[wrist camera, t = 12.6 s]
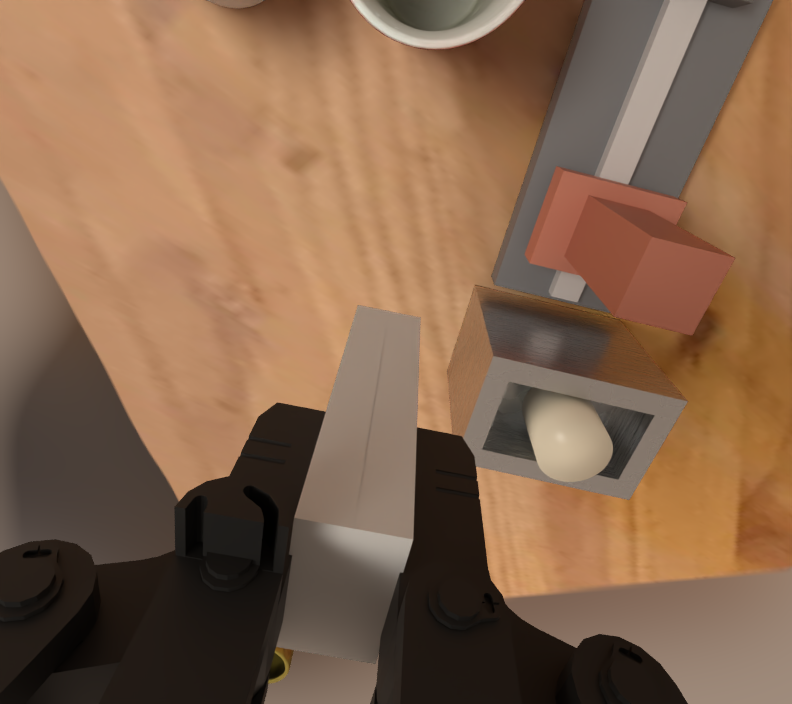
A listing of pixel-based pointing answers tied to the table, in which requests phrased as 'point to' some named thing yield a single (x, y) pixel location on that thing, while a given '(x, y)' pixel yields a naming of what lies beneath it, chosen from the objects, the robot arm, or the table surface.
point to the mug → (436, 20)
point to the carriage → (628, 250)
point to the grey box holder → (556, 386)
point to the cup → (236, 3)
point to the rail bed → (629, 112)
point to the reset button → (566, 435)
